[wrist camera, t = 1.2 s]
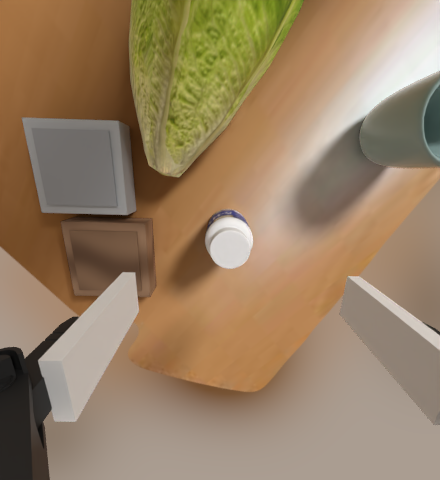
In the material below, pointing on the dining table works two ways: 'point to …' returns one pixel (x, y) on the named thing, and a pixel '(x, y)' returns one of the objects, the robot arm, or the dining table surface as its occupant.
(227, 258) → the pill bottle
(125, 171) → the stand
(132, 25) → the lettuce
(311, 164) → the dining table surface
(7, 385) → the robot arm
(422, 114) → the cup
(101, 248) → the stand
